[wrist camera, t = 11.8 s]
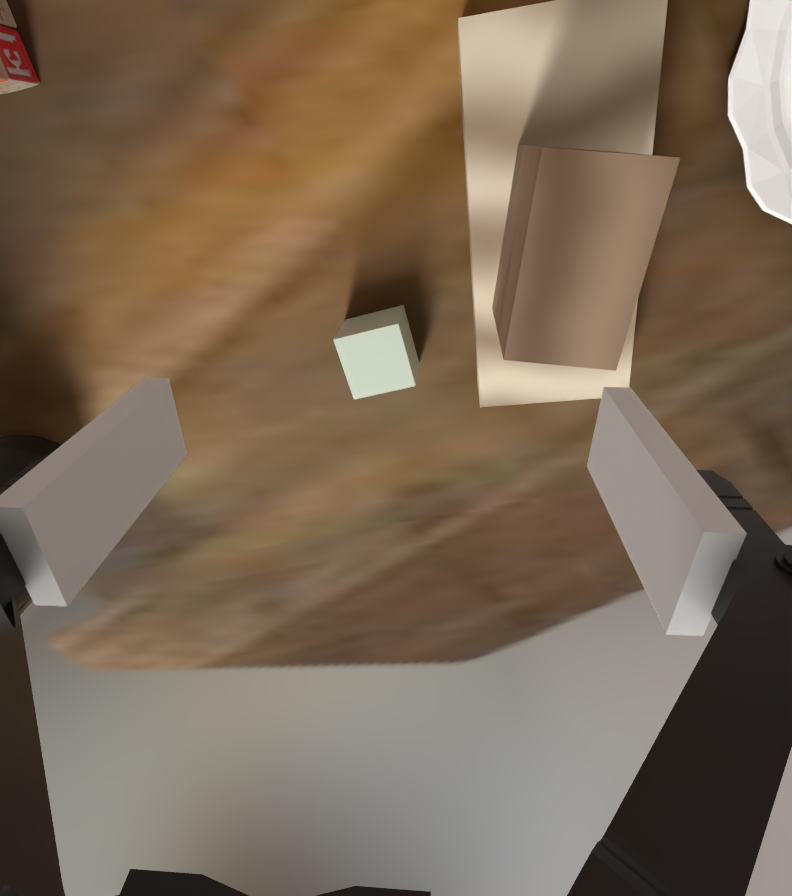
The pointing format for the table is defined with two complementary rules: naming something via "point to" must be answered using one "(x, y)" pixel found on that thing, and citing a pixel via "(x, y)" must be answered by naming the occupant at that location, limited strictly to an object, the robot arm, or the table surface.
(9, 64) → the stack of blocks
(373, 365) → the sage cube
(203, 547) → the table surface
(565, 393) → the plinth
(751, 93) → the plate
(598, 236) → the walnut block
